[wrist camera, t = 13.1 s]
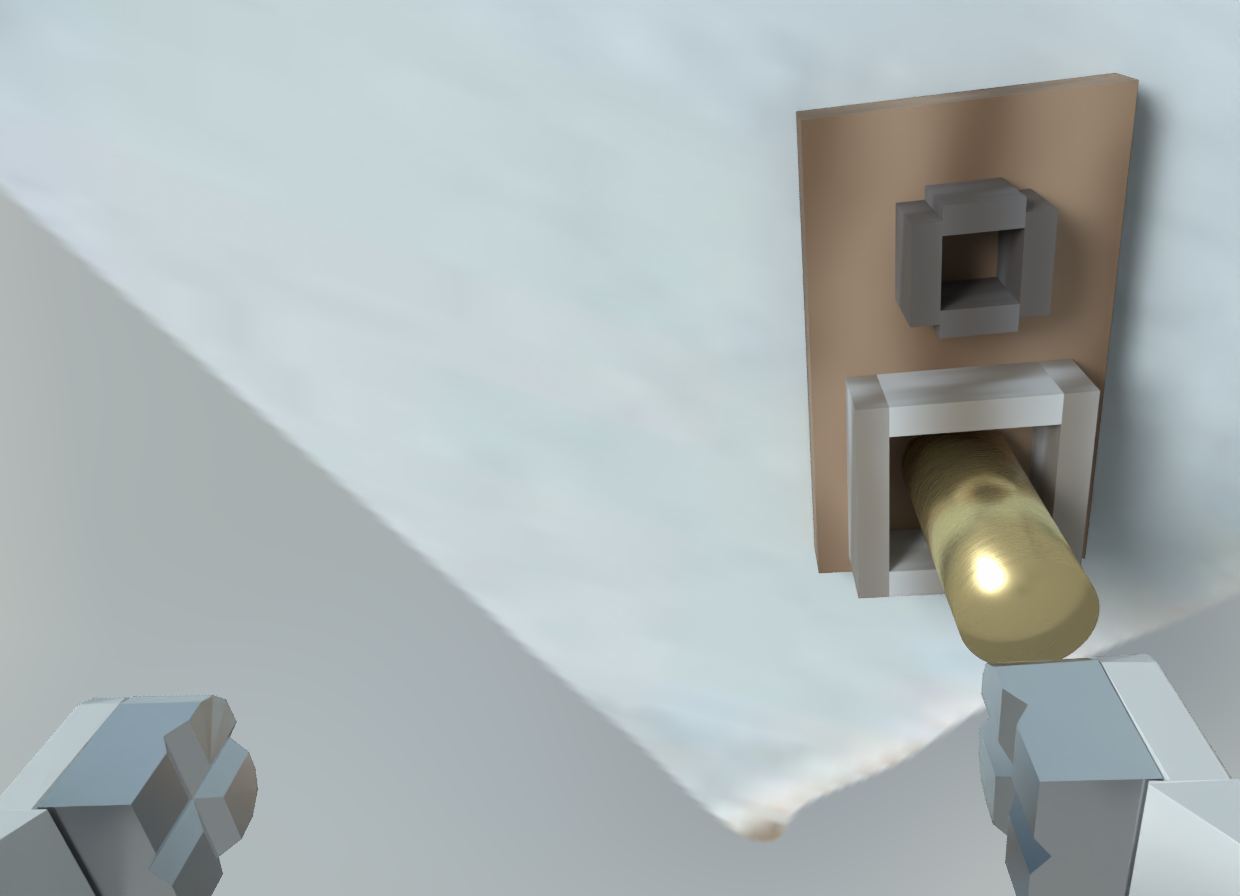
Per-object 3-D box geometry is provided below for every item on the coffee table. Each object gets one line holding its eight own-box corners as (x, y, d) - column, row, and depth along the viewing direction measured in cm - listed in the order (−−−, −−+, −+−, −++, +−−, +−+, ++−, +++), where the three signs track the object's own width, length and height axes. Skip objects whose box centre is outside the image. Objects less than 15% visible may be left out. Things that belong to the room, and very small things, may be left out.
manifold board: (1115, 72, 33) (1178, 92, 29) (1069, 532, 42) (1111, 601, 37) (796, 111, 35) (808, 135, 30) (814, 547, 43) (826, 615, 39)
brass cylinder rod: (1012, 411, 37) (1106, 556, 28) (1006, 503, 39) (1092, 666, 30) (901, 420, 38) (960, 564, 29) (901, 510, 40) (955, 671, 31)
